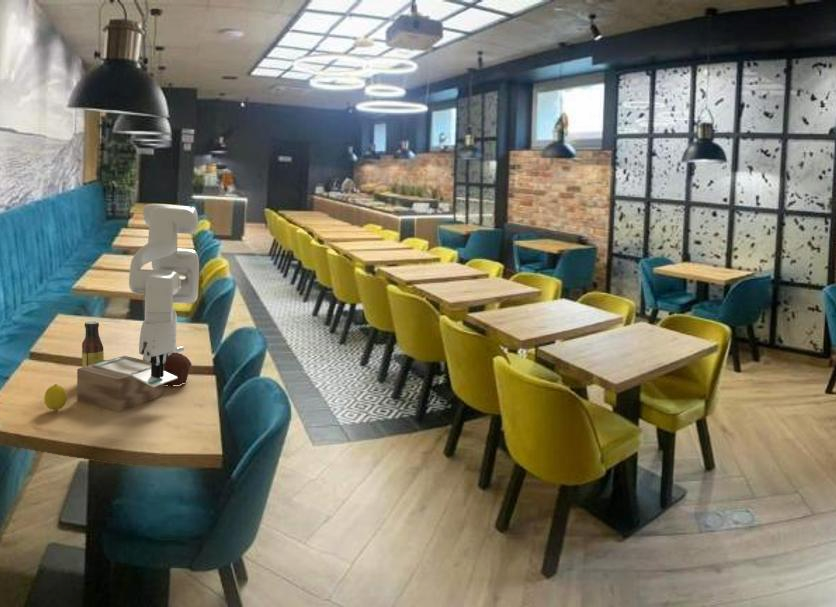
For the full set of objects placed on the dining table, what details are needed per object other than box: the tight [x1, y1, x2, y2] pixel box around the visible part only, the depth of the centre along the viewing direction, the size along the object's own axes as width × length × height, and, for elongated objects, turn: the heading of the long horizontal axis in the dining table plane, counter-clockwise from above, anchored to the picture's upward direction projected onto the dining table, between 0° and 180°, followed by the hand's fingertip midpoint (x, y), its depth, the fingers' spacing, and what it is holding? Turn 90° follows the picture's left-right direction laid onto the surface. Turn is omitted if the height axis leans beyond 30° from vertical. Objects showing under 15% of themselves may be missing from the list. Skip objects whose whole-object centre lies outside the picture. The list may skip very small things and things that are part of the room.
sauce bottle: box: [81, 320, 105, 368], centre depth 205 cm, size 7×6×20 cm
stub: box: [132, 369, 178, 387], centre depth 189 cm, size 10×8×1 cm
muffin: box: [164, 352, 192, 386], centre depth 212 cm, size 12×11×10 cm
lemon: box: [43, 384, 68, 412], centre depth 180 cm, size 6×6×8 cm
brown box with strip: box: [76, 355, 165, 413], centre depth 194 cm, size 18×16×11 cm
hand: (157, 376), depth 189 cm, fingers closed
